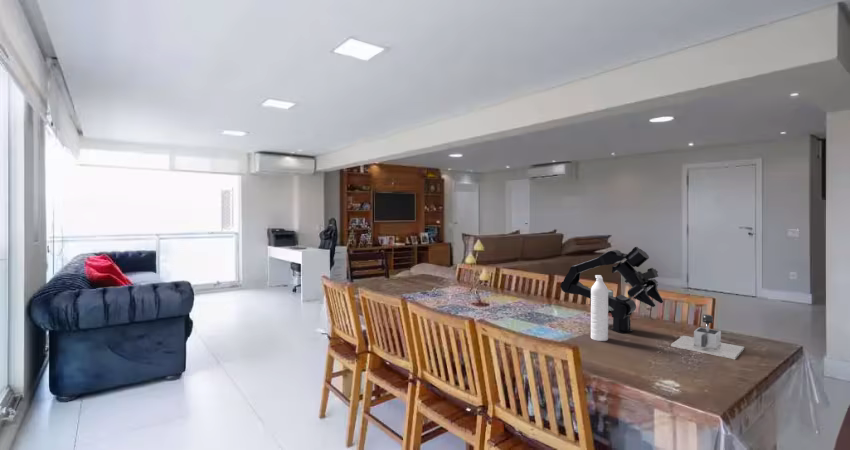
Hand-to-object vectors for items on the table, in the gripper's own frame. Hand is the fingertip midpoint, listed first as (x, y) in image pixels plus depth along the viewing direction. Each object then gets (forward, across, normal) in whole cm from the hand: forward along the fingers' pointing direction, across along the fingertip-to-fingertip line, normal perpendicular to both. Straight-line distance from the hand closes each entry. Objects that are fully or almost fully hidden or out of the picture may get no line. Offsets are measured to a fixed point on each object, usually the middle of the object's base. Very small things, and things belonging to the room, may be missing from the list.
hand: (658, 304), depth 172 cm
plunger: (+21, 0, -3) cm, 21 cm away
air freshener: (-14, +31, +34) cm, 48 cm away
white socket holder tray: (+22, 0, -2) cm, 22 cm away
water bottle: (-2, -16, +22) cm, 27 cm away
